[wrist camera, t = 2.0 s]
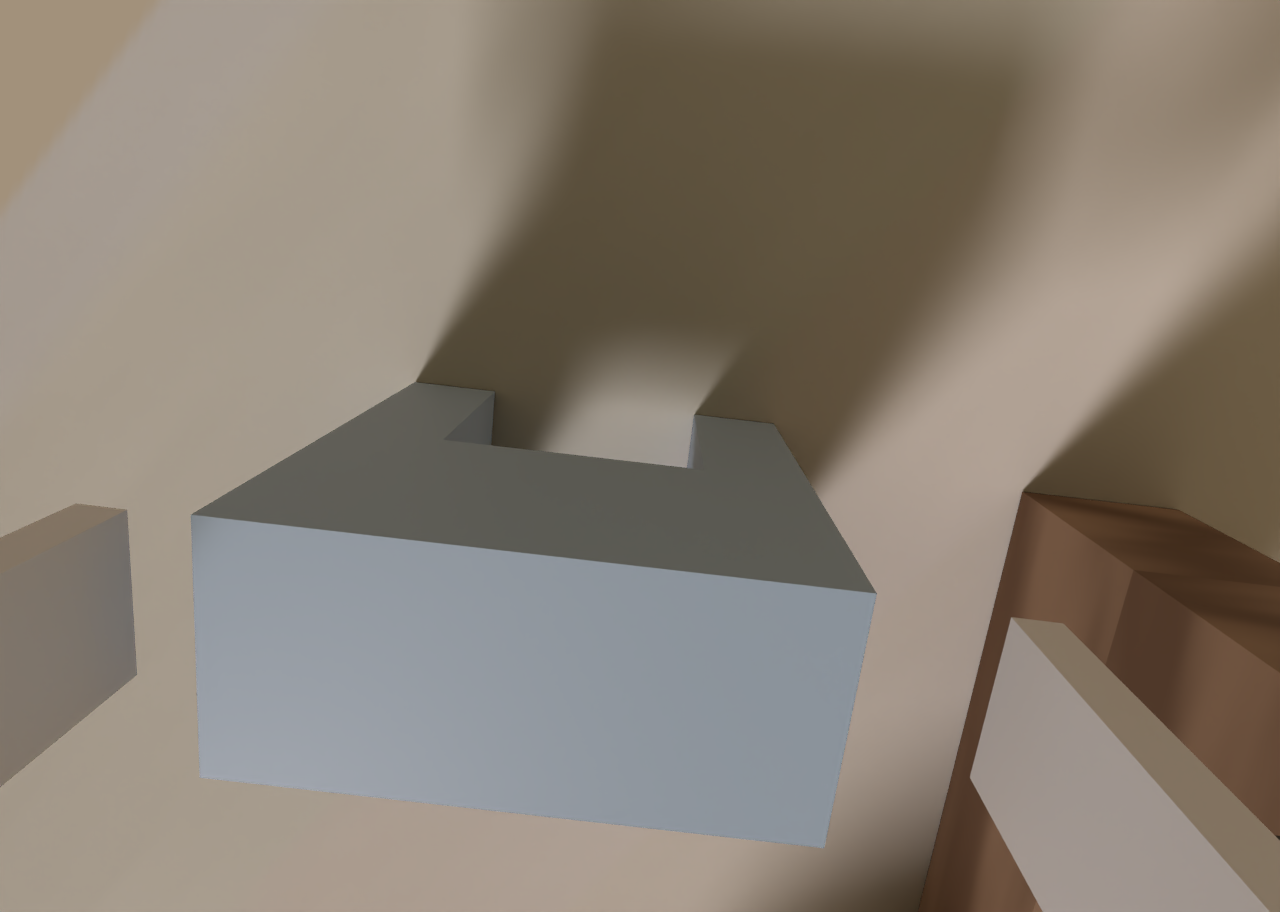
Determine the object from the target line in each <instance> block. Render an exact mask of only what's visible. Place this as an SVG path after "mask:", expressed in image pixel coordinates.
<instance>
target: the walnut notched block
mask: <svg viewBox="0 0 1280 912" xmlns="http://www.w3.org/2000/svg"><path fill="white" fill-rule="evenodd" d="M1011 617H1014V618H1023V619H1031V620H1039V621H1047V622H1056V623H1063V624H1064V625H1065V626H1066V627H1067V628H1068V629H1069V630H1070V631H1071V632H1072V633H1073V634H1074V635H1075V636H1076V637H1077V638H1078V639H1079V640H1080V641H1081V642H1082V643H1083V644H1084V645H1085V646H1086V647H1087V648H1088V649H1089V650H1090V651H1091V652H1092V653H1093V654H1094V655H1095V656H1096V657H1097V658H1098V659H1099V660H1100V661H1101V662H1102V663H1103V664H1104V665H1105V666H1106V667H1107V668H1108V669H1109V670H1110V671H1111V672H1112V673H1113V674H1114V675H1115V676H1116V677H1117V678H1118V679H1119V680H1120V681H1121V682H1122V683H1123V684H1124V685H1125V686H1126V687H1127V688H1128V689H1129V690H1130V691H1131V692H1132V693H1133V694H1134V695H1135V696H1136V697H1137V698H1138V699H1139V700H1140V701H1141V702H1142V703H1143V704H1144V705H1145V706H1146V707H1147V708H1148V709H1149V710H1150V711H1151V712H1152V713H1153V714H1154V715H1155V716H1156V717H1157V718H1158V719H1159V720H1160V721H1161V722H1162V723H1163V724H1164V725H1165V726H1166V727H1167V728H1168V729H1169V730H1170V731H1171V732H1172V733H1173V734H1174V735H1175V736H1176V737H1177V738H1178V739H1179V740H1180V741H1181V742H1182V743H1183V744H1184V745H1185V746H1186V747H1187V748H1188V749H1189V750H1190V751H1191V752H1192V753H1193V754H1194V755H1195V756H1196V757H1197V758H1198V759H1199V760H1200V761H1201V762H1202V763H1203V764H1204V765H1205V766H1206V767H1207V768H1208V769H1209V770H1210V771H1211V772H1212V773H1213V774H1214V775H1215V776H1216V777H1217V778H1218V779H1219V780H1220V781H1221V782H1222V783H1223V784H1224V785H1225V786H1226V787H1227V788H1228V789H1229V790H1230V791H1231V792H1232V793H1233V794H1234V795H1235V796H1236V797H1237V798H1238V799H1239V800H1240V801H1241V802H1242V803H1243V804H1244V805H1245V806H1246V807H1247V808H1248V809H1249V810H1250V811H1251V812H1252V813H1253V814H1254V815H1255V816H1256V817H1257V818H1258V819H1259V820H1260V821H1261V822H1262V823H1263V824H1264V825H1265V826H1266V827H1267V828H1268V829H1269V830H1270V831H1271V832H1272V833H1273V834H1274V835H1277V836H1280V563H1279V562H1277V561H1275V560H1273V559H1271V558H1269V557H1267V556H1265V555H1263V554H1261V553H1260V552H1258V551H1256V550H1254V549H1252V548H1250V547H1248V546H1246V545H1244V544H1242V543H1241V542H1239V541H1237V540H1235V539H1233V538H1231V537H1229V536H1227V535H1225V534H1223V533H1222V532H1220V531H1218V530H1216V529H1214V528H1212V527H1210V526H1208V525H1206V524H1204V523H1203V522H1201V521H1199V520H1197V519H1195V518H1193V517H1191V516H1189V515H1187V514H1185V513H1184V512H1182V511H1180V510H1175V509H1166V508H1157V507H1149V506H1140V505H1132V504H1123V503H1114V502H1106V501H1097V500H1088V499H1080V498H1071V497H1063V496H1054V495H1045V494H1037V493H1028V492H1022V496H1021V500H1020V504H1019V508H1018V512H1017V516H1016V520H1015V524H1014V528H1013V532H1012V536H1011V540H1010V544H1009V548H1008V552H1007V556H1006V560H1005V564H1004V568H1003V572H1002V576H1001V580H1000V584H999V588H998V592H997V596H996V600H995V604H994V608H993V612H992V616H991V620H990V624H989V628H988V632H987V636H986V641H985V645H984V649H983V653H982V657H981V661H980V665H979V669H978V673H977V677H976V681H975V685H974V689H973V693H972V697H971V701H970V705H969V709H968V713H967V717H966V721H965V725H964V729H963V733H962V737H961V741H960V745H959V749H958V753H957V757H956V761H955V765H954V769H953V773H952V777H951V781H950V785H949V789H948V793H947V797H946V801H945V805H944V809H943V813H942V817H941V821H940V825H939V829H938V833H937V837H936V841H935V845H934V849H933V854H932V858H931V862H930V866H929V870H928V874H927V878H926V882H925V886H924V890H923V894H922V898H921V902H920V906H919V910H918V912H1043V911H1042V910H1041V908H1040V906H1039V904H1038V902H1037V900H1036V899H1035V897H1034V895H1033V893H1032V891H1031V889H1030V887H1029V886H1028V884H1027V882H1026V880H1025V878H1024V876H1023V875H1022V873H1021V871H1020V869H1019V867H1018V865H1017V864H1016V862H1015V860H1014V858H1013V856H1012V854H1011V852H1010V851H1009V849H1008V847H1007V845H1006V843H1005V841H1004V840H1003V838H1002V836H1001V834H1000V832H999V830H998V829H997V827H996V825H995V823H994V821H993V819H992V817H991V816H990V814H989V812H988V810H987V808H986V806H985V805H984V803H983V801H982V799H981V797H980V795H979V794H978V792H977V790H976V788H975V786H974V784H973V782H972V781H971V779H970V774H971V770H972V767H973V763H974V759H975V755H976V751H977V747H978V744H979V740H980V736H981V732H982V728H983V724H984V720H985V717H986V713H987V709H988V705H989V701H990V697H991V693H992V690H993V686H994V682H995V678H996V674H997V670H998V666H999V663H1000V659H1001V655H1002V651H1003V647H1004V643H1005V639H1006V636H1007V632H1008V628H1009V624H1010V620H1011Z"/></svg>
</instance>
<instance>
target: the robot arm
mask: <svg viewBox="0 0 1280 912" xmlns="http://www.w3.org/2000/svg"><path fill="white" fill-rule="evenodd" d="M136 675H137V667H136V651H135V634H134V617H133V601H132V584H131V567H130V551H129V534H128V517H127V510H125V509H116V508H108V507H100V506H92V505H84V504H74V505H72V506H70V507H67V508H65V509H63V510H61V511H58V512H56V513H54V514H52V515H50V516H47V517H45V518H43V519H41V520H39V521H36V522H34V523H32V524H30V525H28V526H25V527H23V528H21V529H19V530H16V531H14V532H12V533H10V534H8V535H5V536H3V537H1V538H0V787H1V786H2V785H3V784H5V783H6V782H7V781H8V780H9V779H11V778H12V777H13V776H14V775H15V774H17V773H18V772H19V771H20V770H22V769H23V768H24V767H25V766H26V765H28V764H29V763H30V762H31V761H32V760H34V759H35V758H36V757H37V756H39V755H40V754H41V753H42V752H43V751H45V750H46V749H47V748H48V747H50V746H51V745H52V744H53V743H54V742H56V741H57V740H58V739H59V738H60V737H62V736H63V735H64V734H65V733H67V732H68V731H69V730H70V729H71V728H73V727H74V726H75V725H76V724H78V723H79V722H80V721H81V720H82V719H84V718H85V717H86V716H87V715H88V714H90V713H91V712H92V711H93V710H95V709H96V708H97V707H98V706H99V705H101V704H102V703H103V702H104V701H106V700H107V699H108V698H109V697H110V696H112V695H113V694H114V693H115V692H116V691H118V690H119V689H120V688H121V687H123V686H124V685H125V684H126V683H127V682H129V681H130V680H131V679H132V678H133V677H135V676H136ZM970 779H971V781H972V782H973V784H974V786H975V788H976V790H977V792H978V794H979V795H980V797H981V799H982V801H983V803H984V805H985V806H986V808H987V810H988V812H989V814H990V816H991V817H992V819H993V821H994V823H995V825H996V827H997V829H998V830H999V832H1000V834H1001V836H1002V838H1003V840H1004V841H1005V843H1006V845H1007V847H1008V849H1009V851H1010V852H1011V854H1012V856H1013V858H1014V860H1015V862H1016V864H1017V865H1018V867H1019V869H1020V871H1021V873H1022V875H1023V876H1024V878H1025V880H1026V882H1027V884H1028V886H1029V887H1030V889H1031V891H1032V893H1033V895H1034V897H1035V899H1036V900H1037V902H1038V904H1039V906H1040V908H1041V910H1042V911H1043V912H1280V836H1277V835H1274V834H1273V833H1272V832H1271V831H1270V830H1269V829H1268V828H1267V827H1266V826H1265V825H1264V824H1263V823H1262V822H1261V821H1260V820H1259V819H1258V818H1257V817H1256V816H1255V815H1254V814H1253V813H1252V812H1251V811H1250V810H1249V809H1248V808H1247V807H1246V806H1245V805H1244V804H1243V803H1242V802H1241V801H1240V800H1239V799H1238V798H1237V797H1236V796H1235V795H1234V794H1233V793H1232V792H1231V791H1230V790H1229V789H1228V788H1227V787H1226V786H1225V785H1224V784H1223V783H1222V782H1221V781H1220V780H1219V779H1218V778H1217V777H1216V776H1215V775H1214V774H1213V773H1212V772H1211V771H1210V770H1209V769H1208V768H1207V767H1206V766H1205V765H1204V764H1203V763H1202V762H1201V761H1200V760H1199V759H1198V758H1197V757H1196V756H1195V755H1194V754H1193V753H1192V752H1191V751H1190V750H1189V749H1188V748H1187V747H1186V746H1185V745H1184V744H1183V743H1182V742H1181V741H1180V740H1179V739H1178V738H1177V737H1176V736H1175V735H1174V734H1173V733H1172V732H1171V731H1170V730H1169V729H1168V728H1167V727H1166V726H1165V725H1164V724H1163V723H1162V722H1161V721H1160V720H1159V719H1158V718H1157V717H1156V716H1155V715H1154V714H1153V713H1152V712H1151V711H1150V710H1149V709H1148V708H1147V707H1146V706H1145V705H1144V704H1143V703H1142V702H1141V701H1140V700H1139V699H1138V698H1137V697H1136V696H1135V695H1134V694H1133V693H1132V692H1131V691H1130V690H1129V689H1128V688H1127V687H1126V686H1125V685H1124V684H1123V683H1122V682H1121V681H1120V680H1119V679H1118V678H1117V677H1116V676H1115V675H1114V674H1113V673H1112V672H1111V671H1110V670H1109V669H1108V668H1107V667H1106V666H1105V665H1104V664H1103V663H1102V662H1101V661H1100V660H1099V659H1098V658H1097V657H1096V656H1095V655H1094V654H1093V653H1092V652H1091V651H1090V650H1089V649H1088V648H1087V647H1086V646H1085V645H1084V644H1083V643H1082V642H1081V641H1080V640H1079V639H1078V638H1077V637H1076V636H1075V635H1074V634H1073V633H1072V632H1071V631H1070V630H1069V629H1068V628H1067V627H1066V626H1065V625H1064V624H1063V623H1056V622H1047V621H1039V620H1031V619H1023V618H1014V617H1011V620H1010V624H1009V628H1008V632H1007V636H1006V639H1005V643H1004V647H1003V651H1002V655H1001V659H1000V663H999V666H998V670H997V674H996V678H995V682H994V686H993V690H992V693H991V697H990V701H989V705H988V709H987V713H986V717H985V720H984V724H983V728H982V732H981V736H980V740H979V744H978V747H977V751H976V755H975V759H974V763H973V767H972V770H971V774H970Z"/></svg>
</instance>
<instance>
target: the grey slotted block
mask: <svg viewBox="0 0 1280 912" xmlns="http://www.w3.org/2000/svg"><path fill="white" fill-rule="evenodd" d="M494 397H495V391H487V390H478V389H470V388H461V387H452V386H444V385H435V384H427V383H418V382H414V383H413V384H411V385H409V386H408V387H406V388H404V389H403V390H401V391H399V392H398V393H396V394H394V395H392V396H391V397H389V398H387V399H386V400H384V401H382V402H381V403H379V404H377V405H376V406H374V407H372V408H370V409H369V410H367V411H365V412H364V413H362V414H360V415H359V416H357V417H355V418H354V419H352V420H350V421H348V422H347V423H345V424H343V425H342V426H340V427H338V428H337V429H335V430H333V431H332V432H330V433H328V434H327V435H325V436H323V437H321V438H320V439H318V440H316V441H315V442H313V443H311V444H310V445H308V446H306V447H305V448H303V449H301V450H299V451H298V452H296V453H294V454H293V455H291V456H289V457H288V458H286V459H284V460H283V461H281V462H279V463H277V464H276V465H274V466H272V467H271V468H269V469H267V470H266V471H264V472H262V473H261V474H259V475H257V476H256V477H254V478H252V479H250V480H249V481H247V482H245V483H244V484H242V485H240V486H239V487H237V488H235V489H234V490H232V491H230V492H228V493H227V494H225V495H223V496H222V497H220V498H218V499H217V500H215V501H213V502H212V503H210V504H208V505H207V506H205V507H203V508H201V509H200V510H198V511H196V512H195V513H193V514H191V531H192V561H193V591H194V620H195V650H196V679H197V709H198V738H199V768H200V778H208V779H217V780H226V781H234V782H243V783H252V784H261V785H270V786H279V787H287V788H296V789H305V790H314V791H323V792H332V793H341V794H349V795H358V796H367V797H376V798H385V799H394V800H402V801H411V802H420V803H429V804H438V805H447V806H456V807H464V808H473V809H482V810H491V811H500V812H509V813H517V814H526V815H535V816H544V817H553V818H562V819H571V820H579V821H588V822H597V823H606V824H615V825H624V826H633V827H641V828H650V829H659V830H668V831H677V832H686V833H694V834H703V835H712V836H721V837H730V838H739V839H748V840H756V841H765V842H774V843H783V844H792V845H801V846H809V847H818V848H824V846H825V842H826V837H827V832H828V827H829V822H830V817H831V813H832V808H833V803H834V798H835V793H836V788H837V783H838V779H839V774H840V769H841V764H842V759H843V754H844V750H845V745H846V740H847V735H848V730H849V725H850V721H851V716H852V711H853V706H854V701H855V696H856V691H857V687H858V682H859V677H860V672H861V667H862V662H863V658H864V653H865V648H866V643H867V638H868V633H869V628H870V624H871V619H872V614H873V609H874V604H875V599H876V595H877V593H876V592H875V590H874V588H873V587H872V585H871V583H870V582H869V580H868V578H867V577H866V575H865V573H864V572H863V570H862V569H861V567H860V565H859V564H858V562H857V560H856V559H855V557H854V555H853V554H852V552H851V550H850V549H849V547H848V545H847V544H846V542H845V540H844V539H843V537H842V536H841V534H840V532H839V531H838V529H837V527H836V526H835V524H834V522H833V521H832V519H831V517H830V516H829V514H828V512H827V511H826V509H825V508H824V506H823V504H822V503H821V501H820V499H819V498H818V496H817V494H816V493H815V491H814V489H813V488H812V486H811V484H810V483H809V481H808V479H807V478H806V476H805V475H804V473H803V471H802V470H801V468H800V466H799V465H798V463H797V461H796V460H795V458H794V456H793V455H792V453H791V451H790V450H789V448H788V447H787V445H786V443H785V442H784V440H783V438H782V437H781V435H780V433H779V432H778V430H777V428H776V427H775V425H774V424H771V423H762V422H754V421H745V420H736V419H728V418H719V417H711V416H702V415H694V420H693V427H692V435H691V442H690V450H689V457H688V465H687V468H682V467H674V466H665V465H656V464H648V463H639V462H630V461H622V460H613V459H604V458H596V457H587V456H579V455H570V454H561V453H553V452H544V451H535V450H527V449H518V448H509V447H501V446H492V445H491V442H492V427H493V412H494Z"/></svg>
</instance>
